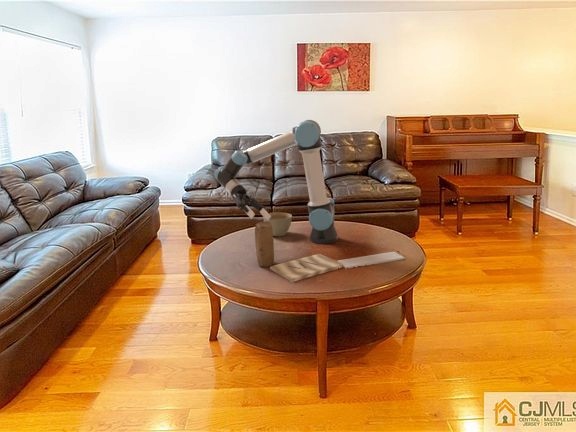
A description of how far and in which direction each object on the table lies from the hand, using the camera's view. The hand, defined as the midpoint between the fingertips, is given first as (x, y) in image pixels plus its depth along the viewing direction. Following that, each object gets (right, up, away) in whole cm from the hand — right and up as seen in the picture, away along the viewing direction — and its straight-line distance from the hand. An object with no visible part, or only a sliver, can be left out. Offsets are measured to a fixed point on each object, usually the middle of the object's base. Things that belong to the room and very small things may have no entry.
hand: (261, 217), depth 223 cm
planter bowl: (+7, -10, +41) cm, 43 cm away
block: (+2, -22, -4) cm, 22 cm away
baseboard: (+51, -21, -3) cm, 56 cm away
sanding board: (+21, -23, -11) cm, 33 cm away
